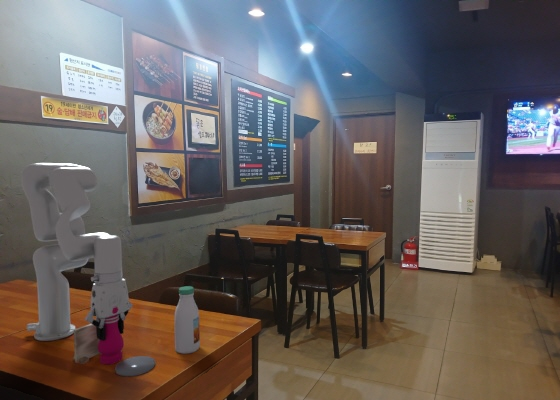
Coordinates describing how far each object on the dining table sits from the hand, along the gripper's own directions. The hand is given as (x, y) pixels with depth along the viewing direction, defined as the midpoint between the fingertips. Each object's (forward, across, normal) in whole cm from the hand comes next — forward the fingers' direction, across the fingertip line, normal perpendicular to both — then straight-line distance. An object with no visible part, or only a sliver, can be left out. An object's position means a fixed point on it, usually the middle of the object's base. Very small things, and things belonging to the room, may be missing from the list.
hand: (110, 335), depth 117 cm
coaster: (+7, +1, -10) cm, 12 cm away
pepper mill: (+8, 0, 0) cm, 8 cm away
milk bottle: (+8, +18, -14) cm, 24 cm away
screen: (+7, 0, +7) cm, 10 cm away
